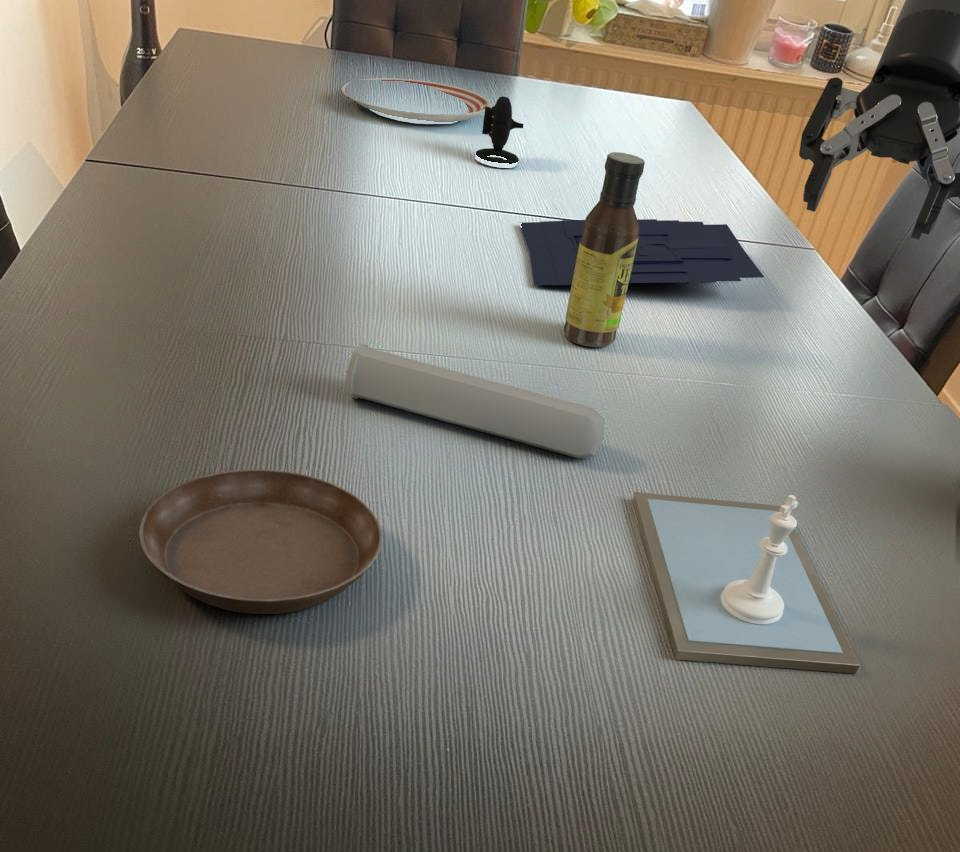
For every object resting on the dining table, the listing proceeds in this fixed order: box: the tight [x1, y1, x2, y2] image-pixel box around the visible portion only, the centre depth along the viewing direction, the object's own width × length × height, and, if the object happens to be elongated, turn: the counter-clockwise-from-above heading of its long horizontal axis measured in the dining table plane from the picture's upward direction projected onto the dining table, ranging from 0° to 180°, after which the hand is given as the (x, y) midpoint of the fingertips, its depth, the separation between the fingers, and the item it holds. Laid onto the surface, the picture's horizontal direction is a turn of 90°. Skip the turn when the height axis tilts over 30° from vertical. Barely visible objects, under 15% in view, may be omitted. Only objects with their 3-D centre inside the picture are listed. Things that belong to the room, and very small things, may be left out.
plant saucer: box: [138, 468, 383, 615], centre depth 77 cm, size 18×18×3 cm
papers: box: [520, 218, 765, 286], centre depth 139 cm, size 24×30×4 cm
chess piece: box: [721, 494, 799, 625], centre depth 77 cm, size 5×5×10 cm
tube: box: [345, 343, 605, 460], centre depth 97 cm, size 5×5×25 cm
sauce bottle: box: [563, 151, 646, 348], centre depth 113 cm, size 6×6×20 cm
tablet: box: [632, 491, 860, 675], centre depth 84 cm, size 14×22×1 cm, turn 2°
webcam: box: [475, 96, 524, 164], centre depth 168 cm, size 8×8×10 cm
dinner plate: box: [341, 77, 492, 122], centre depth 189 cm, size 27×27×3 cm
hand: (863, 219), depth 82 cm, fingers open, 8 cm apart
